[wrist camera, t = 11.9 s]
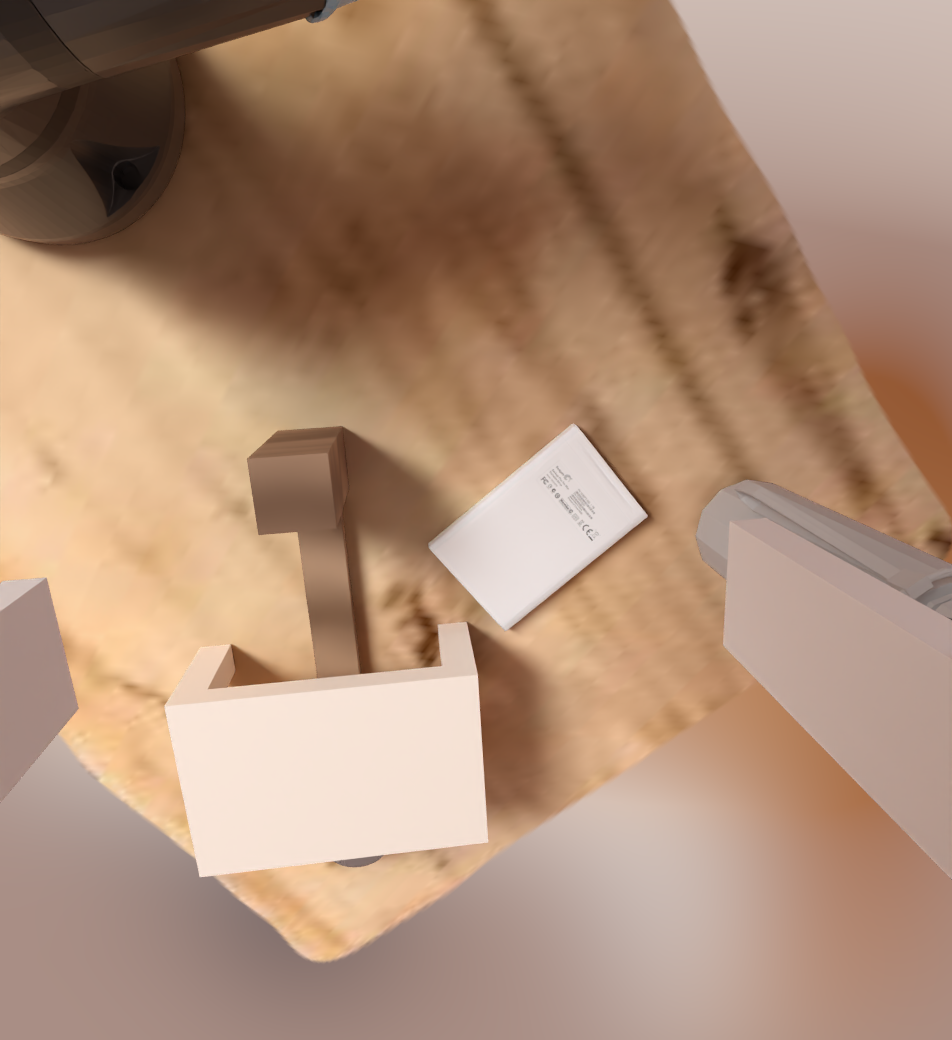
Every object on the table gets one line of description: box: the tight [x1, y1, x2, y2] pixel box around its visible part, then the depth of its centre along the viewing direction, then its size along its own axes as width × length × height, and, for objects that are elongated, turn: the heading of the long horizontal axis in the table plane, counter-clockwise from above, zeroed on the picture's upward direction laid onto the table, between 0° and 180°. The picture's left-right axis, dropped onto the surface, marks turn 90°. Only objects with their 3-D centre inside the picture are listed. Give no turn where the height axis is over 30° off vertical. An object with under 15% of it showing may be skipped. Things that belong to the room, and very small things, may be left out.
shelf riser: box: [164, 622, 488, 877], centre depth 46 cm, size 12×18×8 cm, turn 93°
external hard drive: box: [428, 423, 648, 631], centre depth 47 cm, size 2×8×12 cm
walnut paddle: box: [247, 426, 361, 678], centre depth 42 cm, size 20×4×9 cm, turn 3°
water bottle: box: [696, 480, 952, 619], centre depth 36 cm, size 9×8×25 cm
